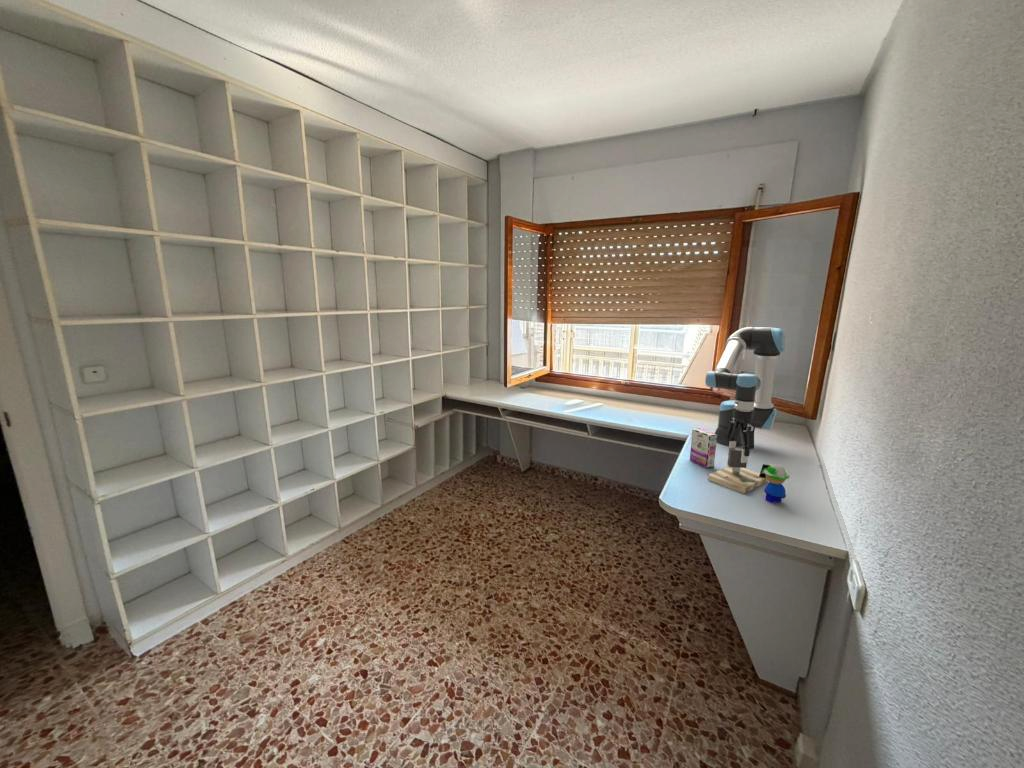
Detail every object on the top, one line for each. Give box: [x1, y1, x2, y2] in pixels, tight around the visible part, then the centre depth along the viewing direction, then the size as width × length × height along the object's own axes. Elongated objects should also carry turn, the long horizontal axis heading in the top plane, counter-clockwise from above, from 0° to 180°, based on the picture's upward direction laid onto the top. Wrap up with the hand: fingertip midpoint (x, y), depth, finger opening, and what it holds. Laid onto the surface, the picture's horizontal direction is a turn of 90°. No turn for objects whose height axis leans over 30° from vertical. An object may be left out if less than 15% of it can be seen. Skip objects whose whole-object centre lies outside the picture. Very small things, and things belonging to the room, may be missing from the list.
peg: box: [726, 447, 748, 481], centre depth 179 cm, size 11×7×11 cm, turn 170°
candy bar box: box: [689, 427, 717, 469], centre depth 199 cm, size 11×5×16 cm, turn 21°
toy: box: [759, 463, 790, 503], centre depth 164 cm, size 9×9×15 cm
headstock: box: [707, 465, 769, 494], centre depth 182 cm, size 20×16×3 cm
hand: (737, 458), depth 183 cm, fingers open, 8 cm apart
